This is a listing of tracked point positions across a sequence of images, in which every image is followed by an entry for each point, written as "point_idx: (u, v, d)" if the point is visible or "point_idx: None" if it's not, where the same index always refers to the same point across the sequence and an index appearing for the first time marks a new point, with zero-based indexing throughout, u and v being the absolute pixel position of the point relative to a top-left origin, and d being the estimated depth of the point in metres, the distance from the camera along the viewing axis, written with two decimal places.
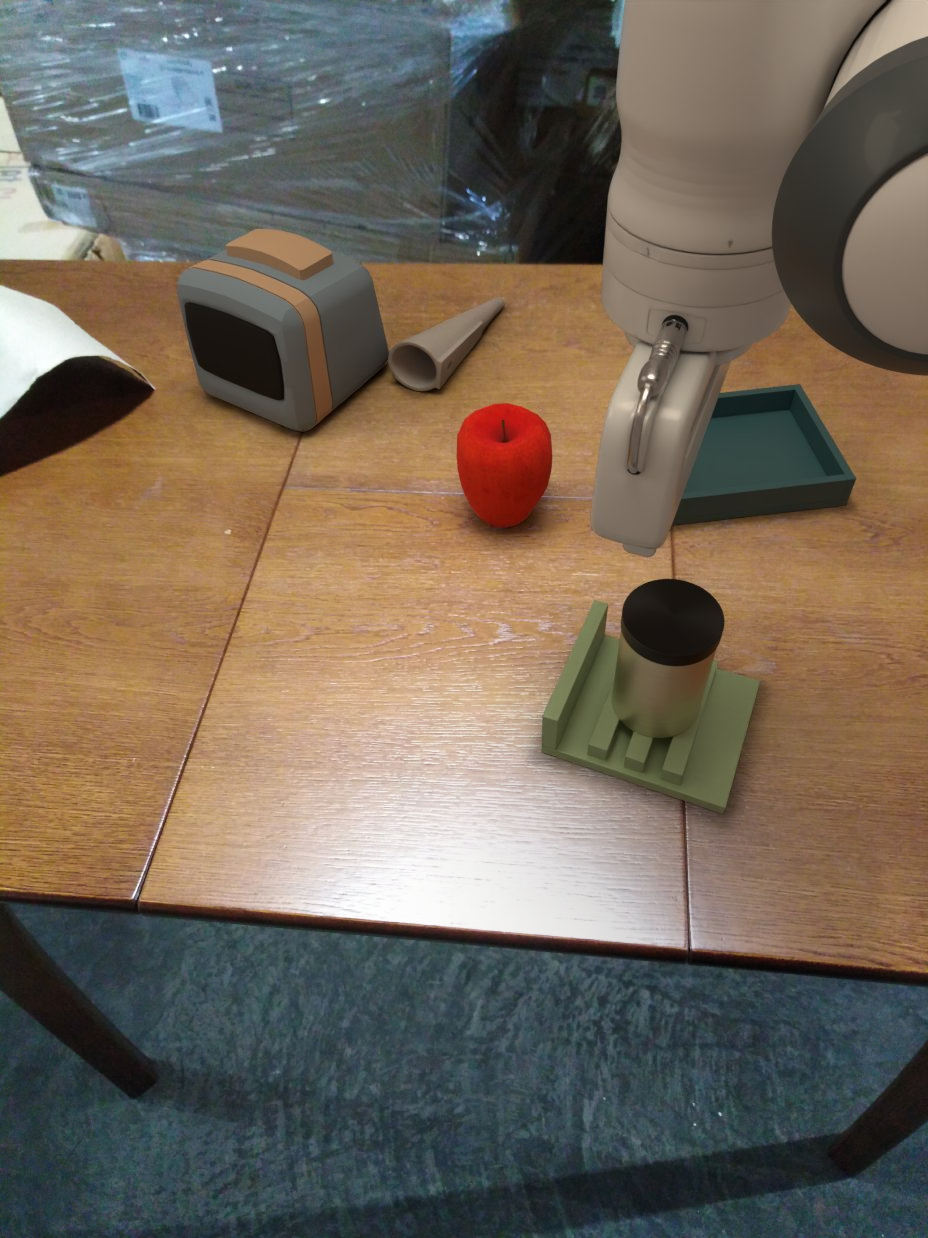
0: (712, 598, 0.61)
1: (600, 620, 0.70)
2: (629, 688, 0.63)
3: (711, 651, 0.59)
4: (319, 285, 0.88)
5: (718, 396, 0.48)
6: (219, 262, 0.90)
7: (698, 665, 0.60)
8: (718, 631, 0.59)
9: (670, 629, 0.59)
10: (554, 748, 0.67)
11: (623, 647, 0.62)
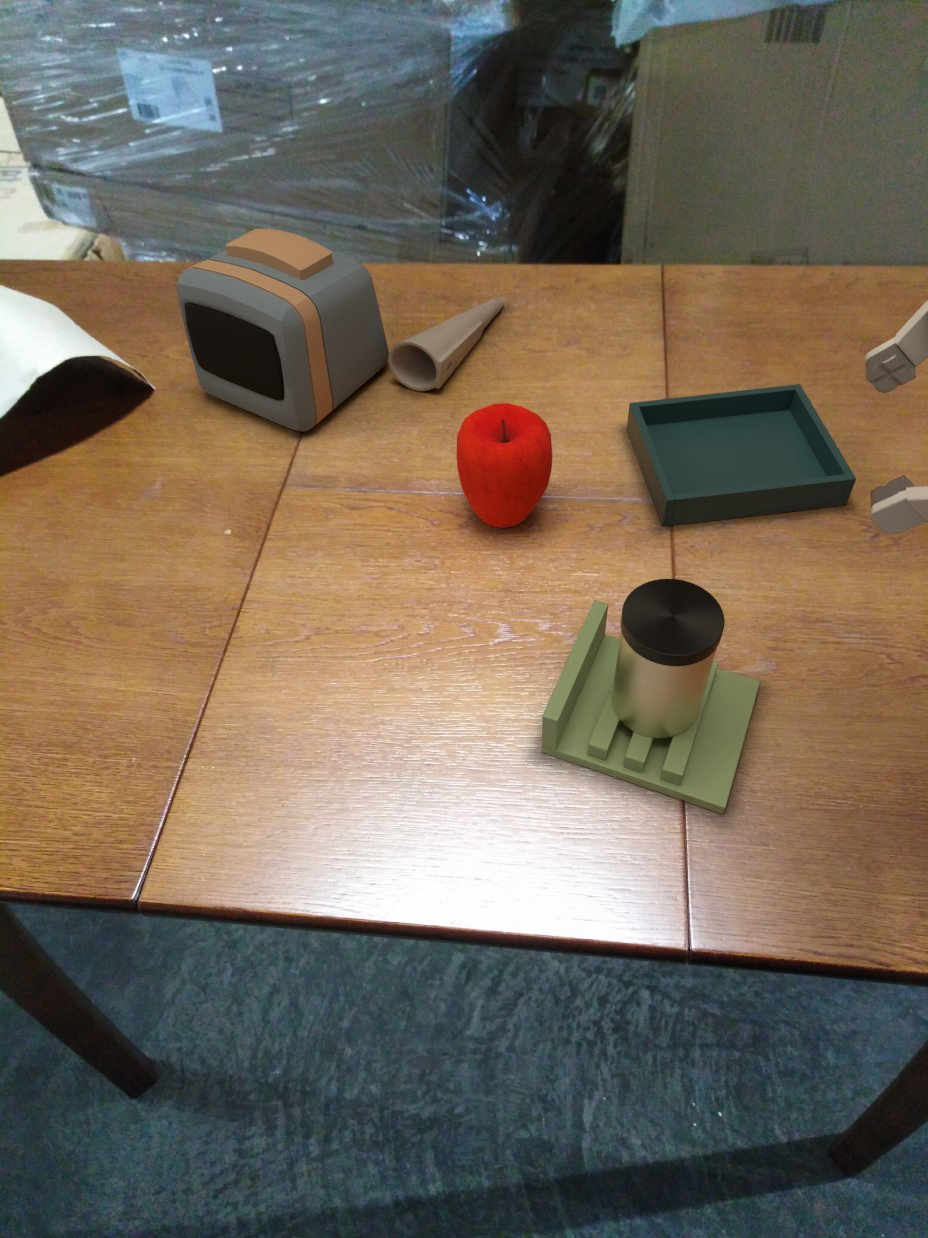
0: (712, 598, 0.61)
1: (600, 620, 0.70)
2: (629, 688, 0.63)
3: (711, 651, 0.59)
4: (319, 285, 0.88)
5: None
6: (219, 262, 0.90)
7: (698, 665, 0.60)
8: (718, 631, 0.59)
9: (670, 629, 0.59)
10: (554, 748, 0.67)
11: (623, 647, 0.62)
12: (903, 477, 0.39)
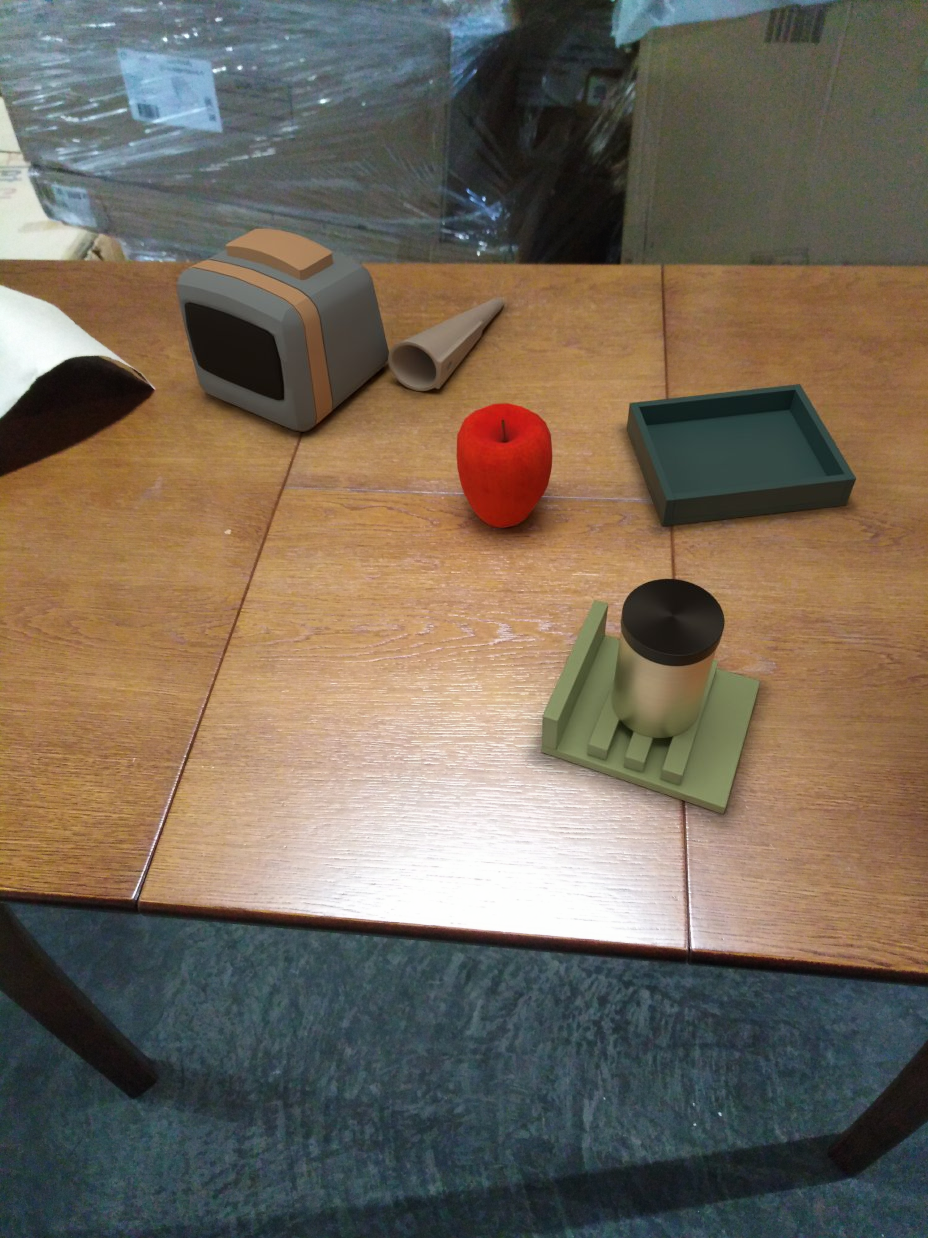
0: (712, 598, 0.61)
1: (600, 620, 0.70)
2: (629, 688, 0.63)
3: (711, 651, 0.59)
4: (319, 285, 0.88)
5: None
6: (219, 262, 0.90)
7: (698, 665, 0.60)
8: (718, 631, 0.59)
9: (670, 629, 0.59)
10: (554, 748, 0.67)
11: (623, 647, 0.62)
12: None
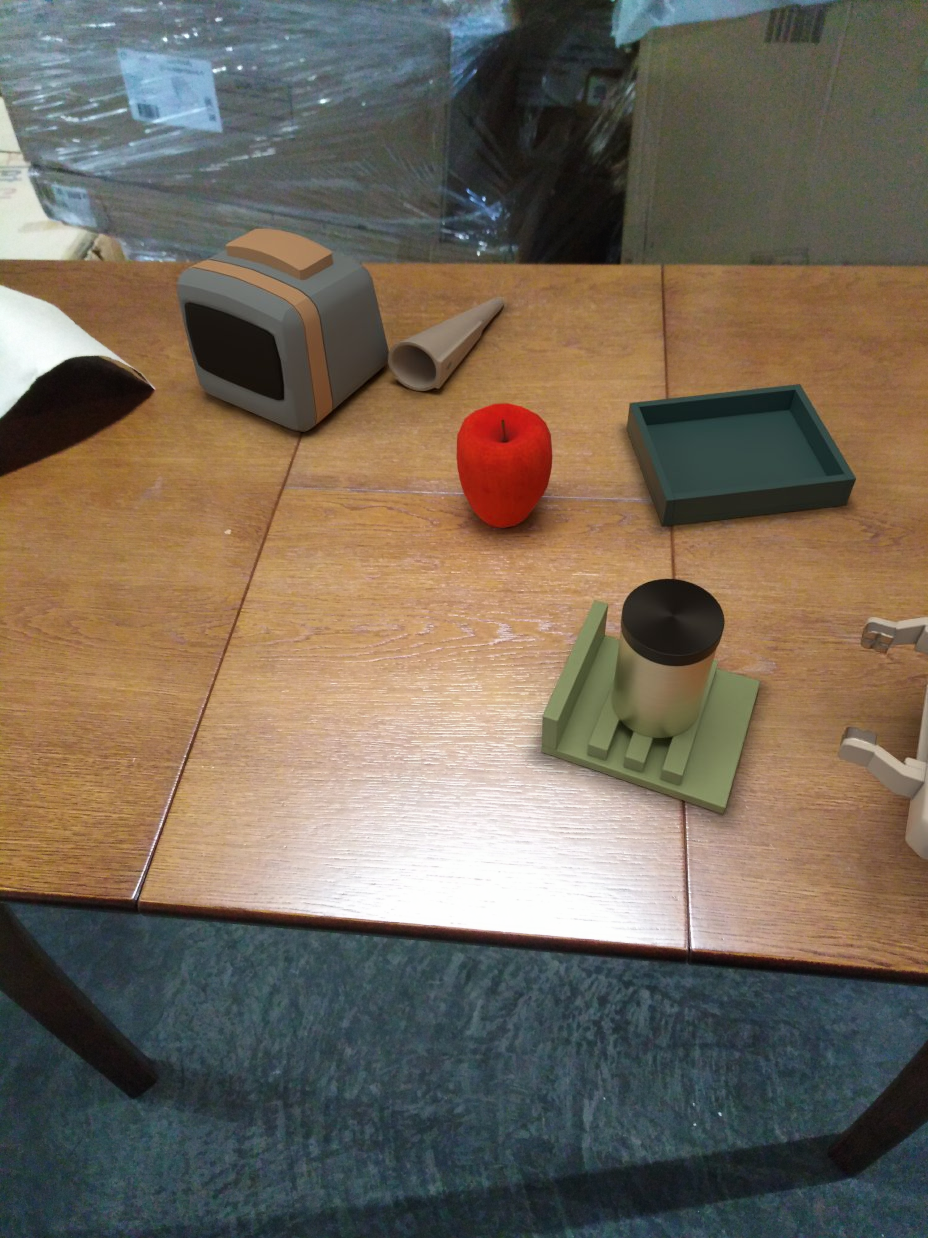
0: (712, 598, 0.61)
1: (600, 620, 0.70)
2: (629, 688, 0.63)
3: (711, 651, 0.59)
4: (319, 285, 0.88)
5: None
6: (219, 262, 0.90)
7: (698, 665, 0.60)
8: (718, 631, 0.59)
9: (670, 629, 0.59)
10: (554, 748, 0.67)
11: (623, 647, 0.62)
12: None
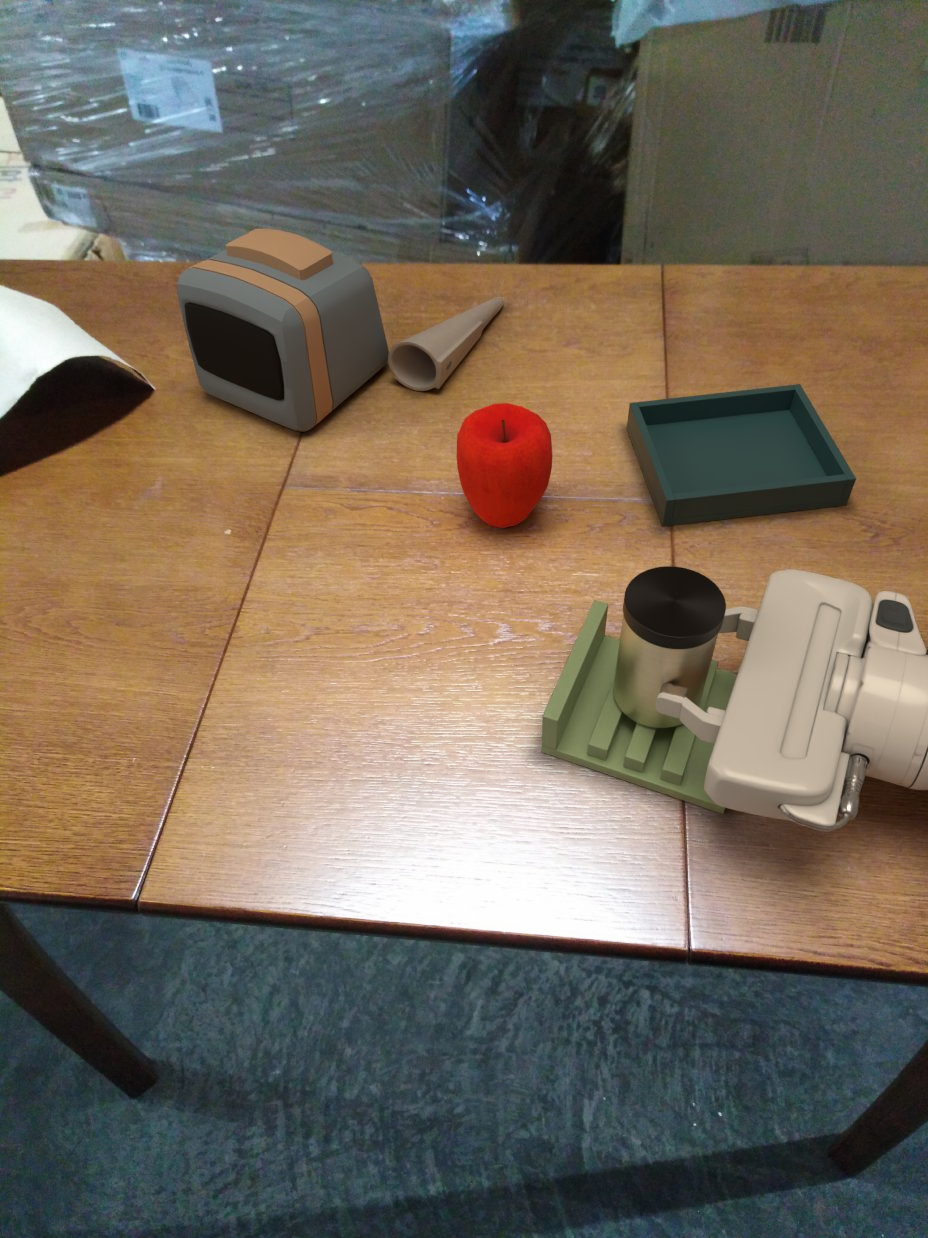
0: (713, 584, 0.62)
1: (600, 620, 0.70)
2: (632, 676, 0.64)
3: (713, 634, 0.60)
4: (319, 285, 0.88)
5: None
6: (219, 262, 0.90)
7: (701, 649, 0.60)
8: (720, 615, 0.60)
9: (672, 613, 0.60)
10: (554, 748, 0.67)
11: (625, 633, 0.62)
12: None
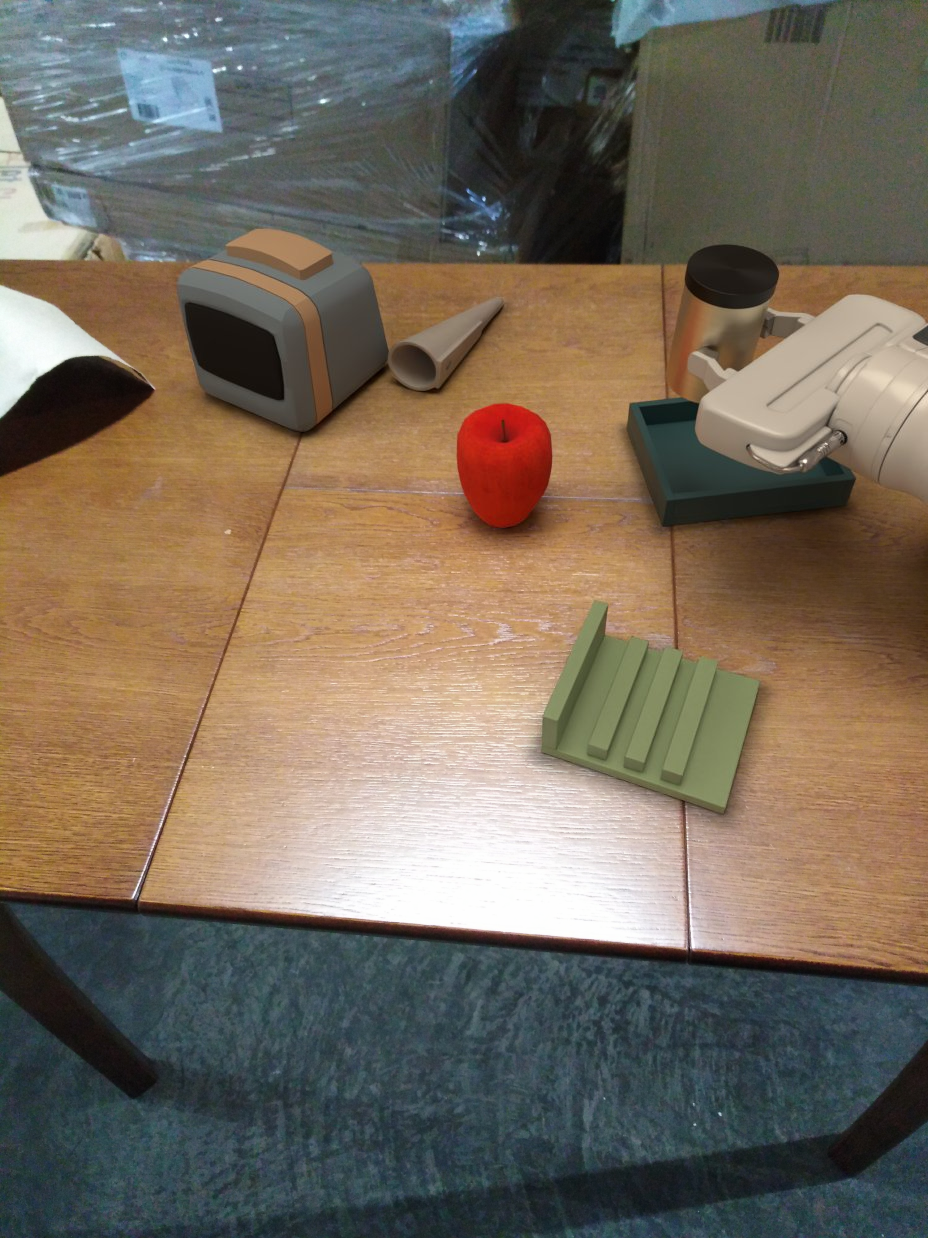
0: (775, 266, 0.67)
1: (600, 620, 0.70)
2: (678, 338, 0.71)
3: (753, 302, 0.66)
4: (319, 285, 0.88)
5: None
6: (219, 262, 0.90)
7: (738, 315, 0.67)
8: (766, 287, 0.66)
9: (725, 275, 0.67)
10: (554, 748, 0.67)
11: None
12: (764, 337, 0.73)
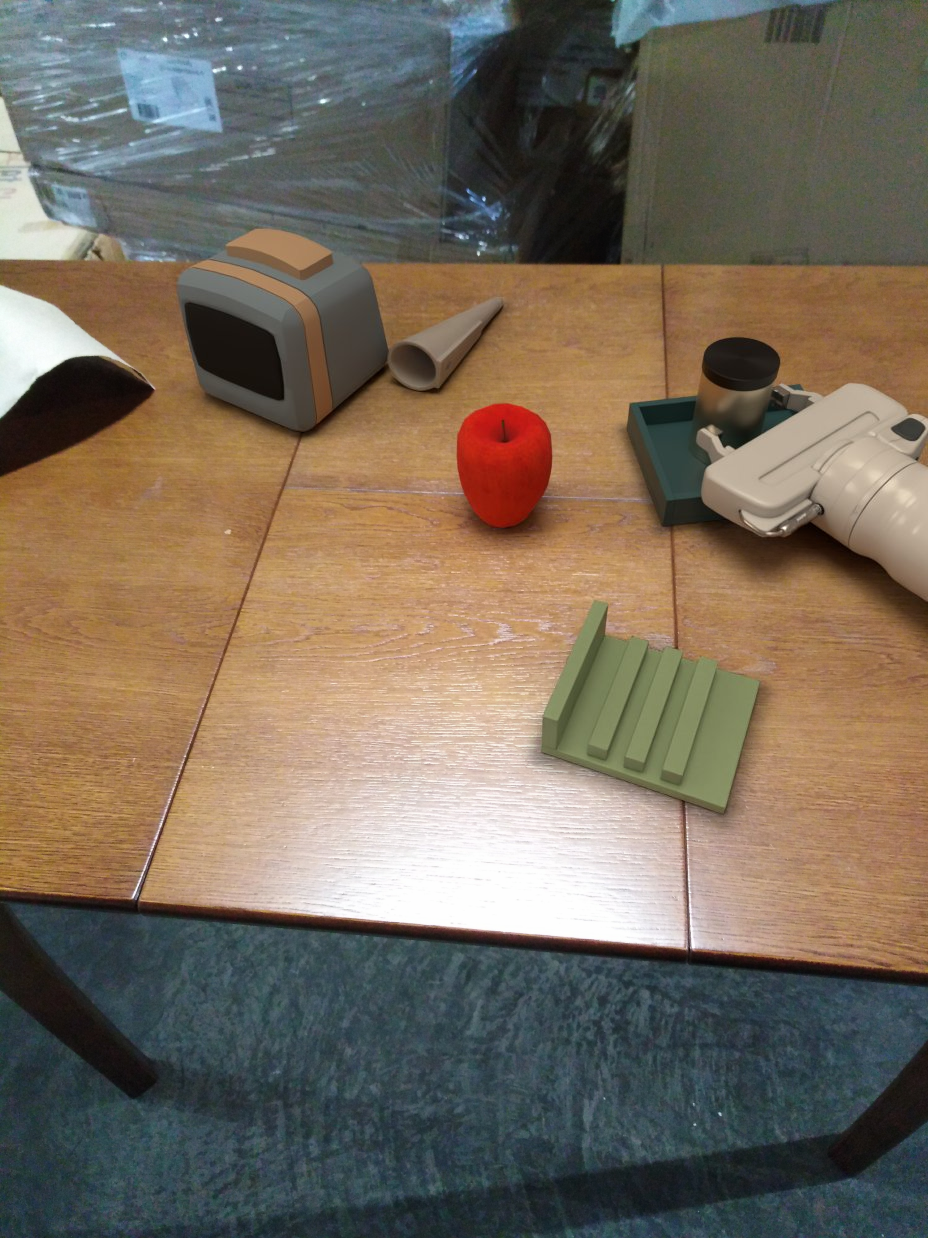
0: (777, 357, 0.81)
1: (600, 620, 0.70)
2: (697, 412, 0.85)
3: (755, 386, 0.80)
4: (319, 285, 0.88)
5: None
6: (219, 262, 0.90)
7: (743, 396, 0.80)
8: (767, 374, 0.79)
9: (733, 363, 0.81)
10: (554, 748, 0.67)
11: None
12: (780, 410, 0.86)
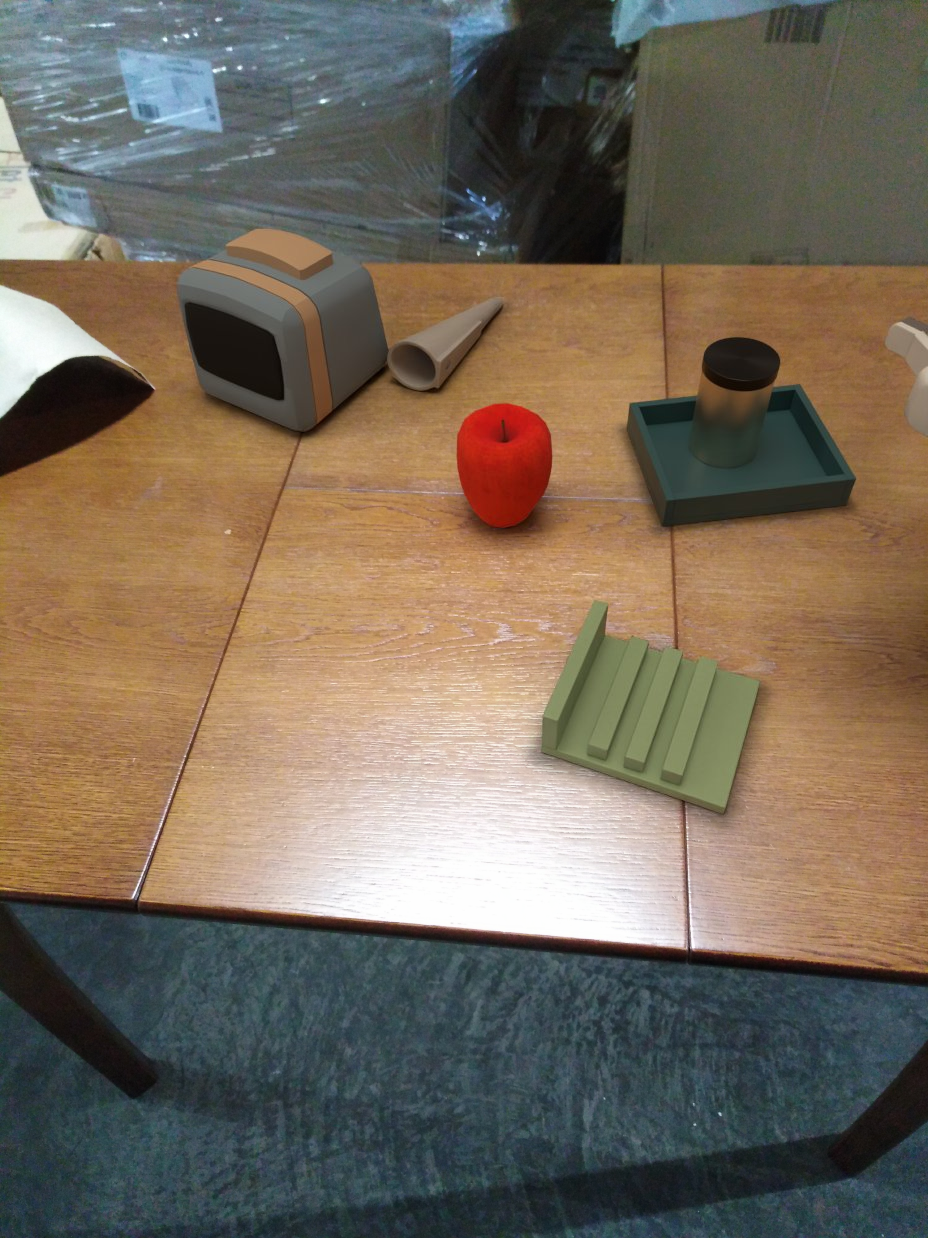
0: (778, 357, 0.81)
1: (600, 620, 0.70)
2: (697, 412, 0.85)
3: (755, 386, 0.80)
4: (319, 285, 0.88)
5: None
6: (219, 262, 0.90)
7: (743, 396, 0.80)
8: (767, 374, 0.79)
9: (733, 363, 0.81)
10: (554, 748, 0.67)
11: None
12: None
